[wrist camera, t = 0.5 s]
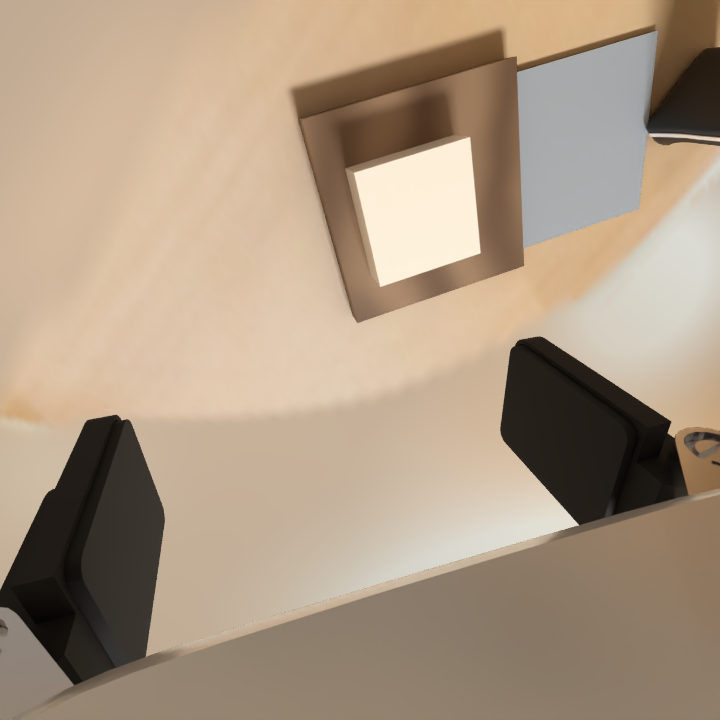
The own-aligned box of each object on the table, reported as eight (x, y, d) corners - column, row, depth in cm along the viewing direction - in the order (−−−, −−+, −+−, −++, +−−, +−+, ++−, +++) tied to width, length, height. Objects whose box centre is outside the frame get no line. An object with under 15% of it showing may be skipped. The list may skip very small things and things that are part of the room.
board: (504, 58, 30) (516, 56, 29) (514, 260, 38) (523, 265, 37) (298, 118, 29) (301, 119, 28) (353, 315, 37) (357, 322, 36)
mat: (654, 30, 32) (658, 30, 32) (636, 208, 39) (639, 209, 39) (505, 75, 31) (507, 75, 31) (513, 250, 38) (515, 250, 38)
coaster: (453, 135, 31) (469, 137, 28) (465, 244, 35) (480, 253, 33) (345, 168, 30) (353, 172, 28) (370, 275, 34) (380, 287, 32)
